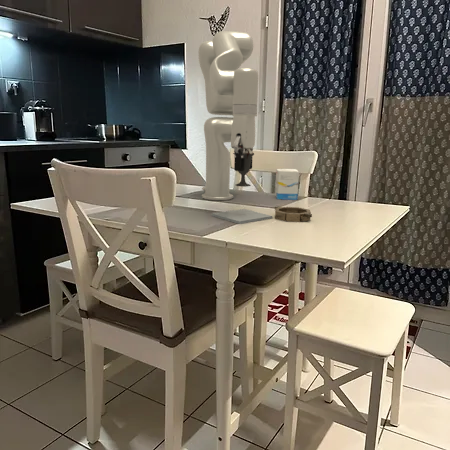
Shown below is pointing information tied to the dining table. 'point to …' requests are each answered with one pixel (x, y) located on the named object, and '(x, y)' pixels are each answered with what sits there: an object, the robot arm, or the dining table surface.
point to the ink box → (287, 184)
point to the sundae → (248, 157)
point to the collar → (292, 214)
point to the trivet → (242, 216)
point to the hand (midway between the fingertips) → (243, 169)
